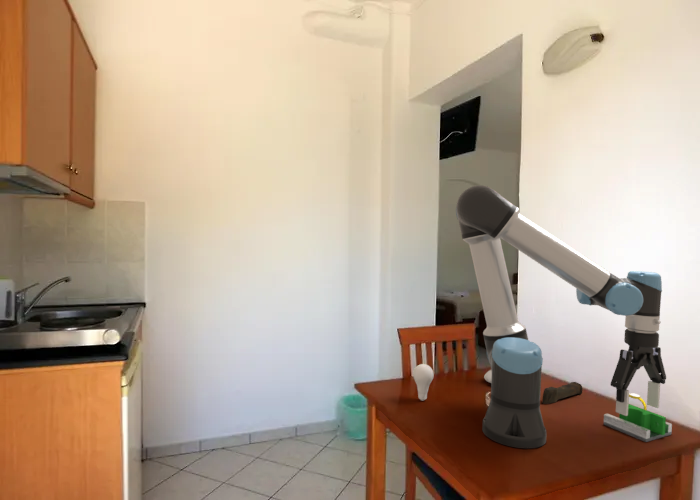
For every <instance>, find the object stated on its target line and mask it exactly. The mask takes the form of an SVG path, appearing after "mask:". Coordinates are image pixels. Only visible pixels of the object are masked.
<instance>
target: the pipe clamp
mask: <svg viewBox="0 0 700 500" xmlns="http://www.w3.org/2000/svg"><path fill="white" fill-rule="evenodd" d="M618 414H619V413H618ZM618 418H620V419H623V420H626V421H628V422H631V423H633V424H636V425H638V426H641V427H644V428H646V429H649V430H650V431H653V432H655V433H658V434H660V435H665V424H666V422H667V421H666V420H667V417H666V416H663V415H661V414H658V413H655V412H652V411H649V410H644V408H641V407H638V406H635V405H632V404H628V416H625V415H622V414H619V416H618ZM657 423H658V424H659V425H657Z"/></svg>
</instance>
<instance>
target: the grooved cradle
mask: <svg viewBox="0 0 700 500" xmlns="http://www.w3.org/2000/svg"><path fill="white" fill-rule="evenodd" d="M603 425H604V426H605V427H609V428H610V429H613V430H616V431H619V432H621V433H623V434H626V435H628V436H630V437H633V438H635V439H637V440H639V441H643V442H645V443H647V442H651V441H654V440H658V439H661V438H665V437H668V436H671V435H672V430H673V429H672V427H673V424H672V423H671V422H668V421H666V424H665V435H660V434H658V433H655V432H653V431H650V430H649V429H646V428H644V427H641V426H638V425H636V424H633V423H631V422H628V421H626V420H623V419H620V418H619V416H615V415H612V414H610V413H604V414H603ZM657 425H659V424H658V423H657Z"/></svg>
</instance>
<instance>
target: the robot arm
mask: <svg viewBox="0 0 700 500" xmlns="http://www.w3.org/2000/svg"><path fill="white" fill-rule="evenodd" d="M455 215H456V218H457V220H458V221H457V222H458V225H459V230H460V235H461V239H462V241H464V242H465V243H466V244H468V246H469V250H470V255H471V258H472V262H473V263H472V264H473V267H474V273H475V278H476V281H477V286H478V291H479V295H480V296H479V297H480V301H481V305H482V309H483V310H482V311H483V314H484V318H485V319H484V320H485V323H486V328H485V329H484V330H483V332H482V335H483V340H484V344H485V348H486V357H487V360H488V363H489V365H490V370H492V380H491V383H490V402H489V404H488V406H487V410H486V412H485V416H484V418H483V419H482V428H481V429H482V432H483V434H484V435H485V436H486V437H487V438H489V439H490V440H491V441H493V442H495V443H498V444H501V445H504V446H507V447H512V448H517V449H536V448H540V447H542V446H544V445H545V444H546V443H547V429H546V426H545V425H544V419H543V416H542V412H541V407H540V406H541V392H542V391H541V388H542V387H541V386H542V369H543V362H544V361H543V360H544V358H543V353H542V348H541V347H540V346H539V345H538V344H537V343H536V342H533V341H530V340H529V337H528V333H527V328H526V325H524V324H523V323H521V322H519V318H518V315H517V310H516V305H515V300H514V295H513V290H512V287H511V282H510V278H509V273H508V272H509V271H508V268H507V264H506V259H505V255H504V251H503V246H502V240H503V241H504V242H506V243H507V244H509V245H511V246H512V247H514V248H515V249H516V250H518V251H520V252H521V253H522V254H524V255H526V256H527V257H528V258H530V259H531V260H533V261H534V262H536V263H537V264H539V265H540V266H542V267H543V268H545V269H547V270H548V271H550V272H551V273H552V274H554V275H556V276H557V277H558V278H560V279H562V280H564V282H567V284H569V285H571V286H572V287H574V288H575V289H576V290H575V291H576V292H575V293H576V299H577V301H578V303H579V304H580V305H588V306H599V307H601V308H603V309H605V310H608V311H610V312H611V313H613V314H614V315H617V316H625V317H624V318H625V321H624V327H625V328H626V329H624V338H623V339H624V340H623V341H624V343H625V344H627V345H628V350H626V349H620V351H619V357H618V360H617V364H616V366H615V369H614V373H613V375H612V378H611V381H610V386H611V387H613V388H616V389H615V390H616V392H615V400H616V401H615V413H617V414H622V415H625V416H628V404H629V399H630V397H629V393H630V390H629V389H628V387H629V386H630V383H631V382H632V380H633V378H634V376H635V375H636V372H637V370H640V369H641V368H642V367H643V368H644V370H645V372H646V373H647V376H648V378H649V380H647V393H646V394H647V396H646V405H647V406H650V407H653V408H656V409H659V408H660V396H661V385H665V384H666V379H667V374H666V371H665V367H664V363H663V359H662V354H661V352H662V350H661V347H659V346H660V345H659V344H660V343H659V341H660V340H659V339H660V334H659V333H658V331H660V324H661V319H660V316H661V303H662V302H661V301H662V292H663V290H662V288H663V287H662V286H663V285H662V283H663V282H662V276H661V274H659V273H657V272H652V271H643V270H642V271H641V270H638V271H637V270H636V271H634V270H631V271H628V272H627V276H626V277H624V278H619V277H618V276H616V275H615V274H613V273H611V272H610V271H608V270H607V269H605V268H604V267H602V266H600V265H599V264H598V263H596V262H594V261H593V260H591V259H590V258H588V257H587V256H585V255H584V254H583V253H581V252H579V251H578V250H577V249H575V248H573V247H572V246H570V245H569V244H567V243H565V242H564V241H562V240H561V239H559V238H558V237H556V236H555V235H553V234H552V233H550V232H548V231H547V230H546V229H545V228H542V227H541V226H539V224H536V223H535V222H534V221H531V219H528V218H527V217H525V216H524V215H522V214H521V213H520V208H519V207H518V206H516V205H515V204H513V203H512V202H511V201H509V200H508V199H507V198H505V197H504V196H503V195H502V194H500V193H499V192H497V191H496V190H495V189H494V188H491V187H490V186H488V185H487V186H486V185H483V184H478V185H472V186H470V187H467V188H466V189H465V190H464V191H462V192H461V194H460V195H459V197H458V199H457V201H456V207H455ZM501 239H502V240H501Z"/></svg>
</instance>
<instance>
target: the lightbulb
mask: <svg viewBox="0 0 700 500" xmlns="http://www.w3.org/2000/svg"><path fill="white" fill-rule="evenodd" d="M434 374H435V373H434V371H433V369H432V367H431V366H430V365H429V364H426V363H420V364H419V365H416V366H415V367H414V369H413V372H412V375H413V376H412V377H413V380H414V382H415V384H416V389H417V395H418V396H417V397H418V399H419V400H420V401H425V400H427V398H428V392H429V387H430V385H431V383H432V381H433V379H434Z"/></svg>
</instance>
